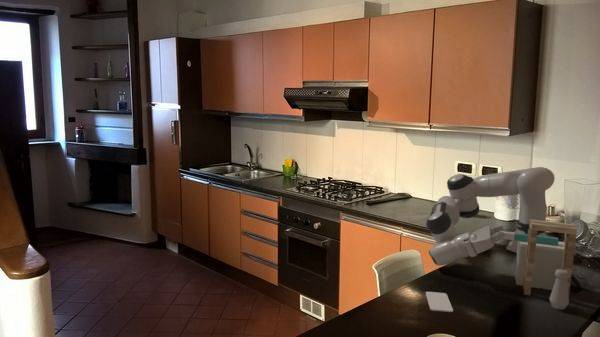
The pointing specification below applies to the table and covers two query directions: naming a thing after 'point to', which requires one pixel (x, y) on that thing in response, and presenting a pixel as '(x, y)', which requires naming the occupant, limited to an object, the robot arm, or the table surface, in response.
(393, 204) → the table surface
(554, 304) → the salt shaker
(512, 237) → the marker
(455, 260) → the robot arm
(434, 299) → the smartphone
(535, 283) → the white rectangular block
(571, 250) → the wooden stand
